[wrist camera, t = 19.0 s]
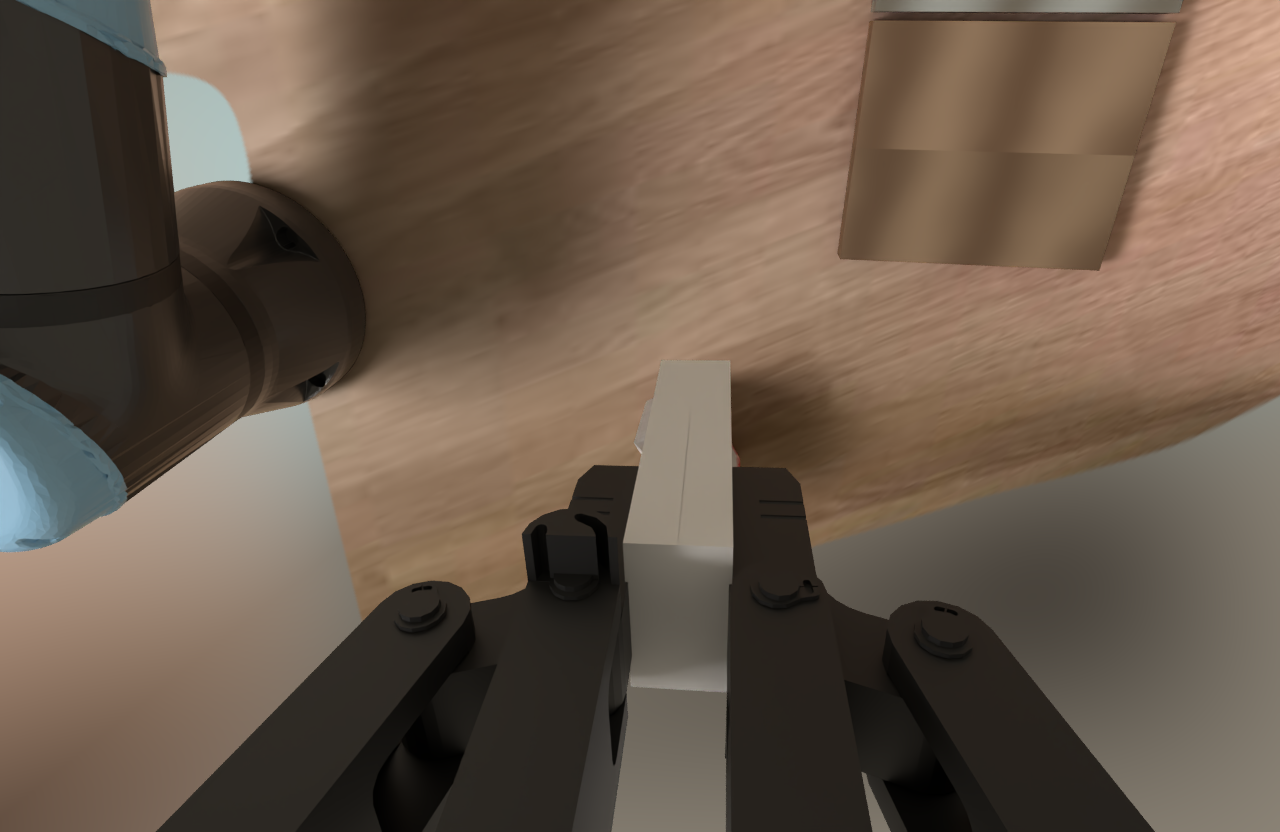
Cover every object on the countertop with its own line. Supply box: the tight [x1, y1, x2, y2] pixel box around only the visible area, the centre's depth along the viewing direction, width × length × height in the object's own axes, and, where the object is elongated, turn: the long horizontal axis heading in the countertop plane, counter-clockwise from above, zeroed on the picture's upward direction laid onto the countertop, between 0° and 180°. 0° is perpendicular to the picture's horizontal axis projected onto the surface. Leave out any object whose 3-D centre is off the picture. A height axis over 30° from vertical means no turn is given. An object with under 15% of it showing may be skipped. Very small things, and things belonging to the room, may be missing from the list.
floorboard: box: [838, 20, 1176, 271], centre depth 38 cm, size 14×12×1 cm
